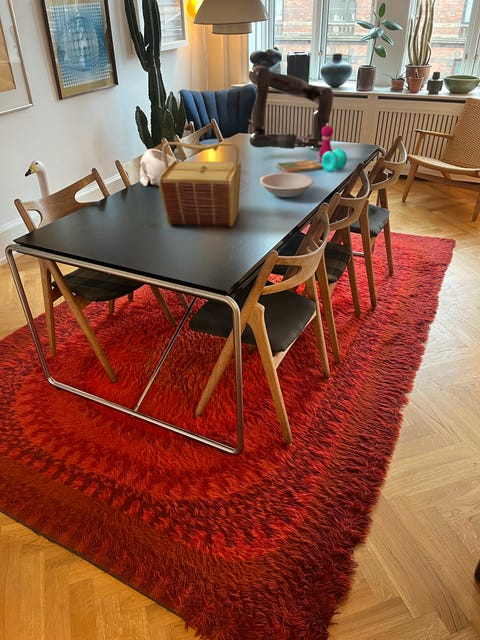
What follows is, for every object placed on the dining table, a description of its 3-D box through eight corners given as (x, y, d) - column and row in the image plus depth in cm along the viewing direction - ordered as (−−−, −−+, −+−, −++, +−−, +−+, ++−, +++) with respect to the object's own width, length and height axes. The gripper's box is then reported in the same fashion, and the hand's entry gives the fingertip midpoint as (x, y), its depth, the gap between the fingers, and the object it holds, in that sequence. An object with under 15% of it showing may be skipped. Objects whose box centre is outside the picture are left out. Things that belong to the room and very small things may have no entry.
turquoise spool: (319, 170, 248) (321, 150, 242) (332, 166, 253) (333, 146, 248) (334, 174, 241) (336, 153, 236) (347, 169, 247) (349, 150, 241)
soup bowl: (319, 189, 221) (320, 175, 218) (302, 206, 203) (303, 191, 199) (271, 184, 230) (271, 170, 226) (251, 199, 212) (251, 185, 208)
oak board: (277, 166, 255) (277, 163, 254) (311, 162, 260) (311, 159, 259) (287, 173, 244) (287, 170, 243) (323, 169, 248) (323, 166, 248)
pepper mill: (332, 160, 262) (335, 122, 251) (331, 164, 256) (334, 124, 245) (319, 160, 264) (321, 121, 253) (317, 163, 258) (320, 124, 247)
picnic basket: (160, 230, 185) (151, 150, 168) (177, 207, 206) (170, 134, 190) (235, 233, 181) (233, 151, 165) (244, 209, 202) (243, 134, 186)
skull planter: (147, 173, 243) (156, 140, 229) (176, 196, 240) (187, 165, 226) (128, 180, 233) (137, 146, 220) (158, 205, 230) (169, 172, 217)
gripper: (283, 136, 252) (314, 138, 248) (289, 131, 264) (318, 132, 259) (283, 151, 256) (313, 153, 252) (289, 145, 268) (317, 146, 263)
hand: (316, 142), depth 256 cm, fingers open, 8 cm apart
